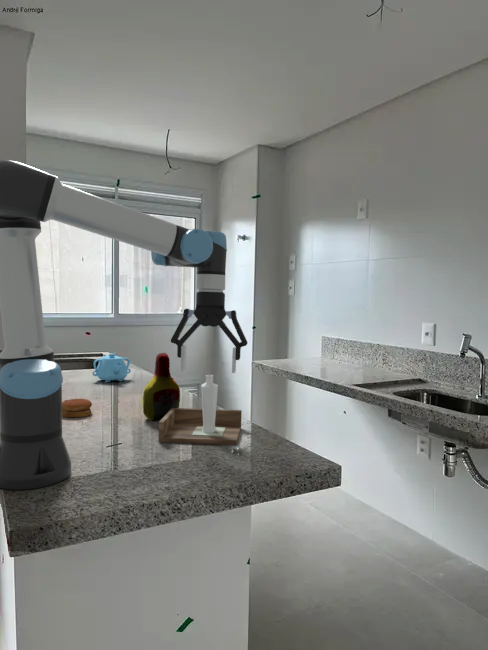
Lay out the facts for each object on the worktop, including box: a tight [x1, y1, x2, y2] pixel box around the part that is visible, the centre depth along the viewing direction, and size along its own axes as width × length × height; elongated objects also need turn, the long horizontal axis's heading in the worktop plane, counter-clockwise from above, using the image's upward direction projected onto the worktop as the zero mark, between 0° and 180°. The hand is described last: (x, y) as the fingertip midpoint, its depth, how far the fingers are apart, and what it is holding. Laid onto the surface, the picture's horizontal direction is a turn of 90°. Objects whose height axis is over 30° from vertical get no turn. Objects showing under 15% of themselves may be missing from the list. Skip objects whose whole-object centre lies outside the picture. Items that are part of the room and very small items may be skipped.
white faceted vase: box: [200, 374, 219, 433], centre depth 132 cm, size 5×4×15 cm
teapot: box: [92, 353, 131, 383], centre depth 212 cm, size 20×17×12 cm
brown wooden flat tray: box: [158, 407, 242, 446], centre depth 133 cm, size 16×20×5 cm
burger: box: [62, 398, 93, 418], centre depth 154 cm, size 10×9×5 cm
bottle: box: [141, 352, 181, 421], centre depth 150 cm, size 12×6×20 cm, turn 119°
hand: (208, 371), depth 131 cm, fingers open, 13 cm apart
